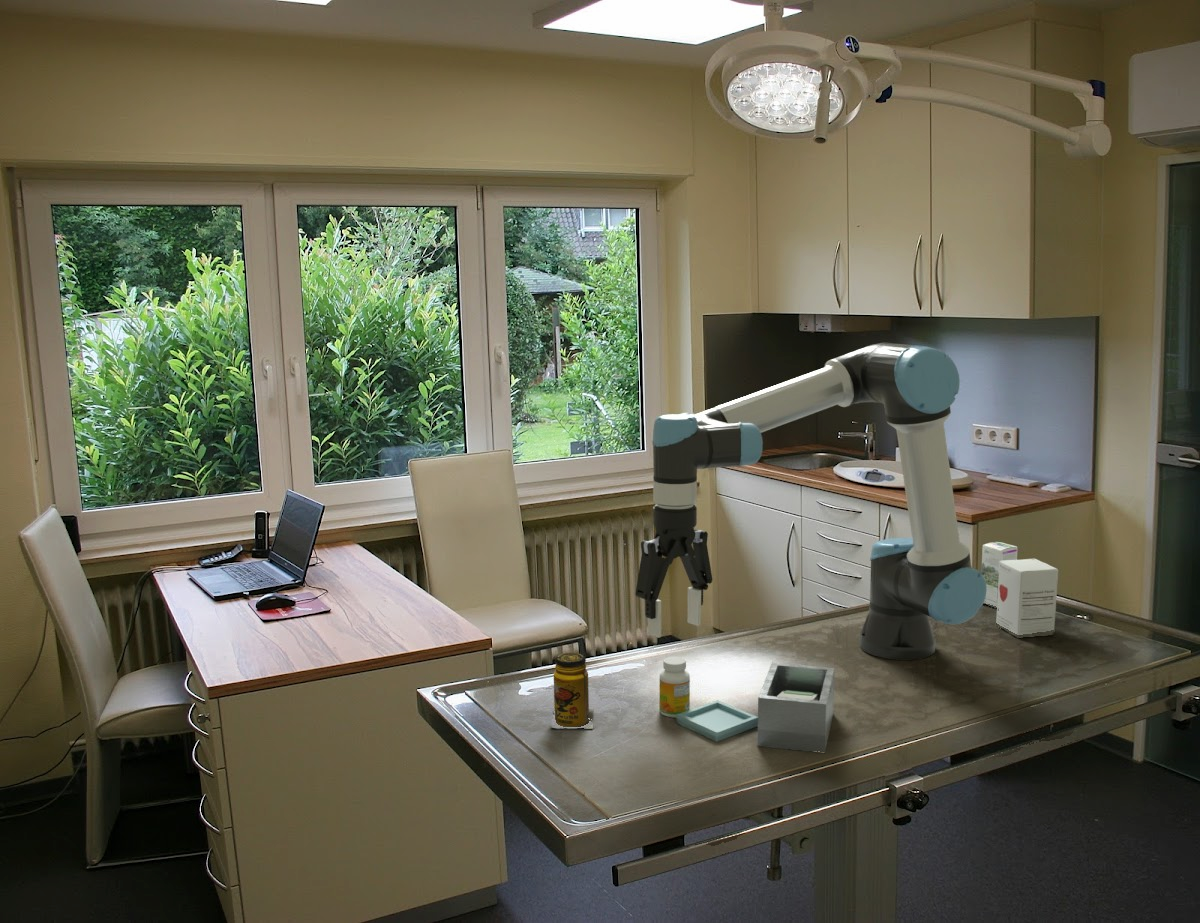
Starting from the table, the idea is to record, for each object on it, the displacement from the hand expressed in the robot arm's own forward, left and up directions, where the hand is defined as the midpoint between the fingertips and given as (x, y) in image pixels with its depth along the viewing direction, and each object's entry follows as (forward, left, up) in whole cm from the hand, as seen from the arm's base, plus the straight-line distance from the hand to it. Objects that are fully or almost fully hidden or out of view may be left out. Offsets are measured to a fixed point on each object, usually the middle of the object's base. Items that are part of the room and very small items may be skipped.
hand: (674, 629), depth 196 cm
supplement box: (-88, +16, -16) cm, 91 cm away
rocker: (-11, +19, -10) cm, 24 cm away
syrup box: (-100, +2, -16) cm, 101 cm away
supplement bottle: (0, 0, -16) cm, 16 cm away
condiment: (+16, -9, -16) cm, 24 cm away
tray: (-2, +9, -15) cm, 18 cm away
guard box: (-11, +19, -15) cm, 27 cm away
